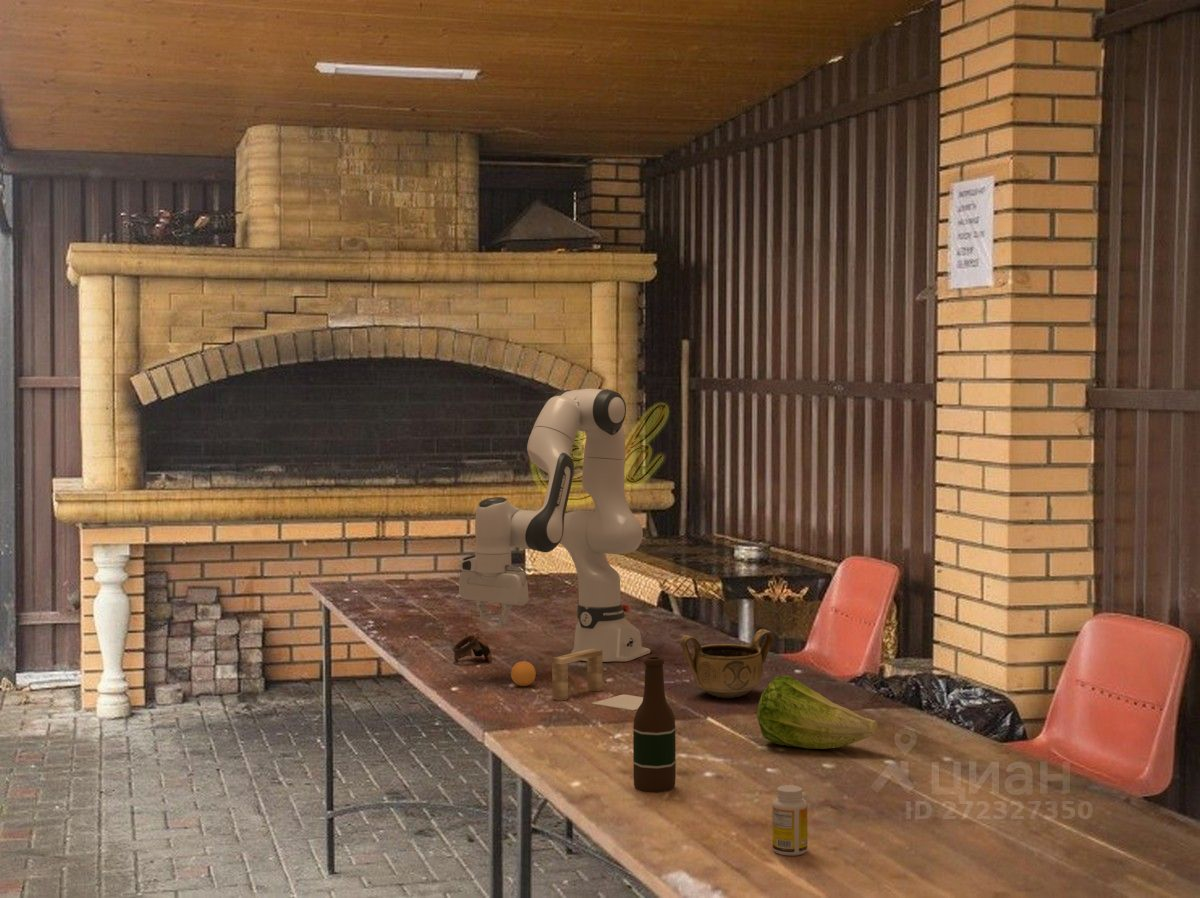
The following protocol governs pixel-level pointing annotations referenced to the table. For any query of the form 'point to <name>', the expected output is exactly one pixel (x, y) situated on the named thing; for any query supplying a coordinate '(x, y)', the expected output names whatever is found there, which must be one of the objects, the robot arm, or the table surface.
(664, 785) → the beer bottle
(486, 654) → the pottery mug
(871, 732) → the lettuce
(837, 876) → the table surface
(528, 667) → the ball
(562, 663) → the bridge
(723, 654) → the ceramic bowl
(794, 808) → the supplement bottle
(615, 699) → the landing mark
